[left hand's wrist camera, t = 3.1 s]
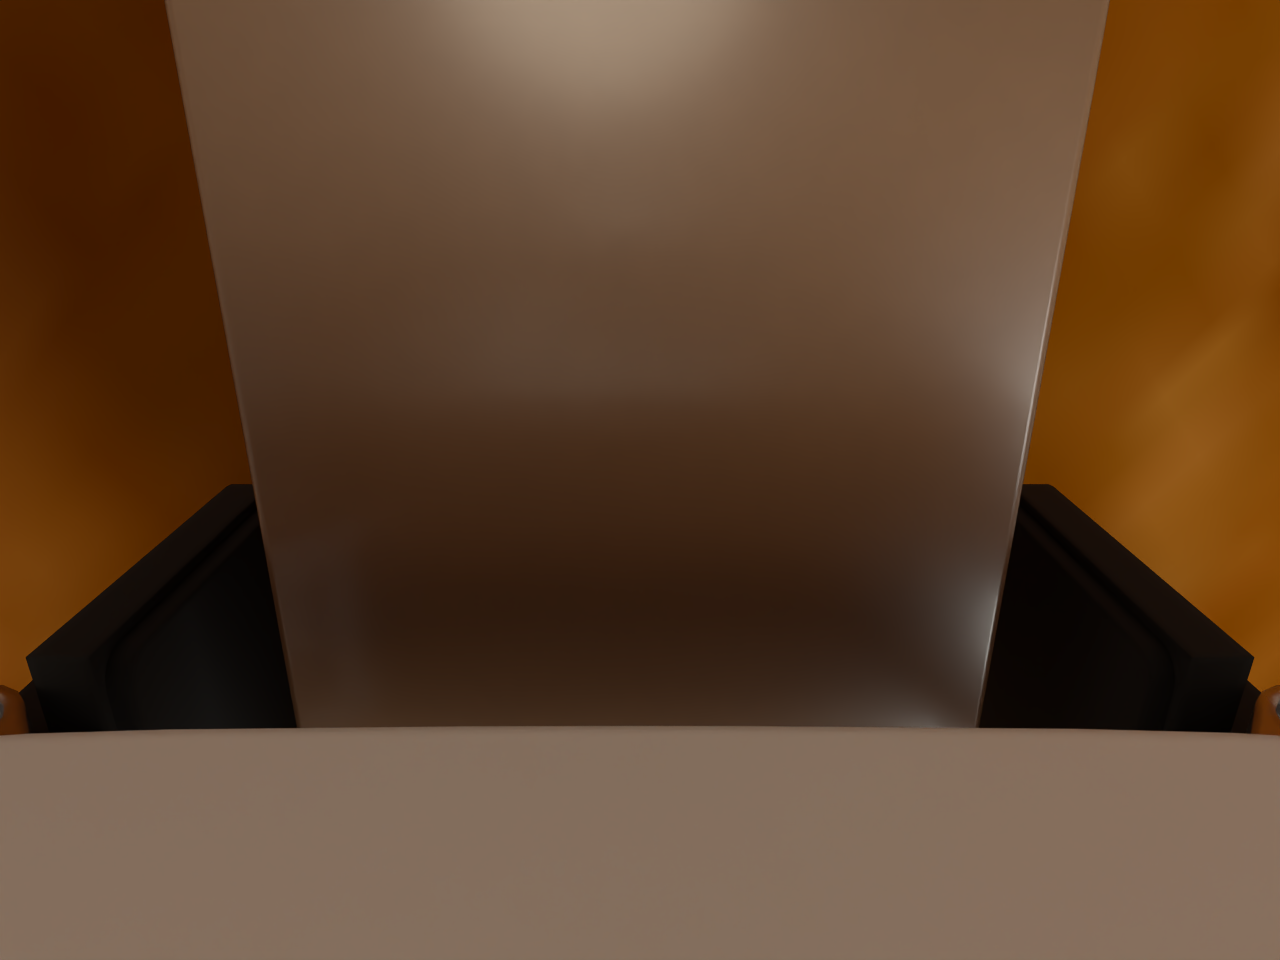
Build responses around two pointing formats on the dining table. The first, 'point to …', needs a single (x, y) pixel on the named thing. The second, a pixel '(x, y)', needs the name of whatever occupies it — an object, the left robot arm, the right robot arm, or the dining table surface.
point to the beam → (637, 343)
